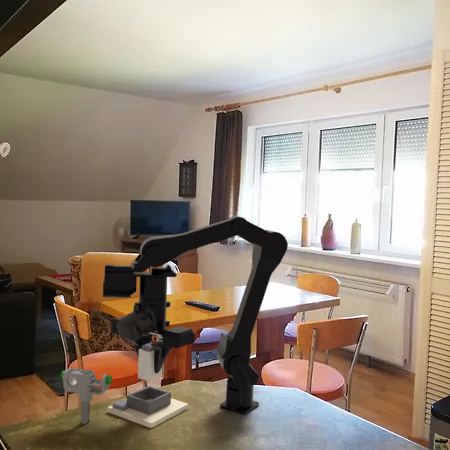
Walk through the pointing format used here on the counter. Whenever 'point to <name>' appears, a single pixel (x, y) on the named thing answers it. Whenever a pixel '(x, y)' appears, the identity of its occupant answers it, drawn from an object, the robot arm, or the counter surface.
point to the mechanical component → (85, 387)
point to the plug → (147, 363)
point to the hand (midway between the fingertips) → (150, 371)
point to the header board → (148, 407)
